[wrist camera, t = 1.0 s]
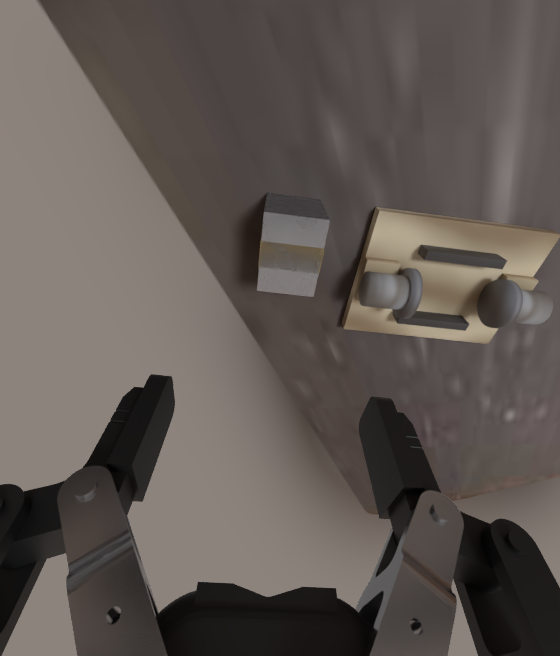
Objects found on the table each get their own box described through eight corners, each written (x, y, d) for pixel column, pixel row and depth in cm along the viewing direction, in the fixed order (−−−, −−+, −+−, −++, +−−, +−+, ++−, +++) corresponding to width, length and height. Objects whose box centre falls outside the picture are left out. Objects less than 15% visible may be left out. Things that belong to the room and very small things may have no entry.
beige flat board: (375, 206, 26) (396, 227, 21) (551, 230, 27) (608, 254, 22) (341, 322, 32) (351, 357, 28) (482, 337, 34) (514, 372, 29)
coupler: (266, 192, 25) (263, 211, 20) (321, 199, 25) (330, 220, 20) (260, 260, 28) (256, 290, 24) (308, 265, 29) (314, 296, 24)
